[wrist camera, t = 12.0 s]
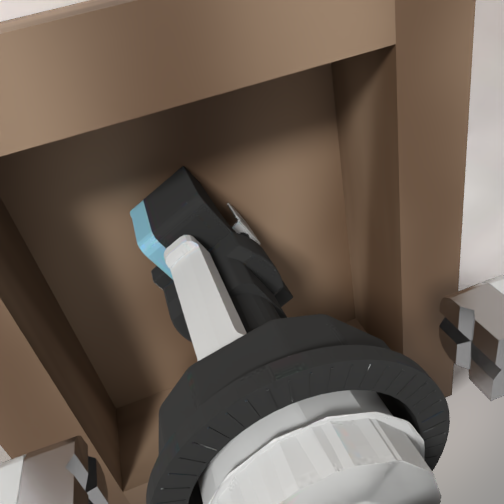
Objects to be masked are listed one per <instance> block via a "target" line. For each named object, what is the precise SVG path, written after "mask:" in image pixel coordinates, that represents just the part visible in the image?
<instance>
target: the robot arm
mask: <svg viewBox="0 0 504 504" xmlns="http://www.w3.org/2000/svg"><path fill="white" fill-rule="evenodd" d="M440 312H441V313H442V314H443V315H444V316H445V317H444V319H443V321H442V322H441V324H440V325H439V338H440V341H441V344H442V347H443V349H444V350H445V352H446V354H447V355H448V357H449V358H450V359H451V360H452V361H453V362H454V363H455V364H456V365H458V366H461V367H464V368H467V369H469V379H470V380H471V381H472V382H473V383H474V384H475V385H476V386H477V387H478V388H479V389H480V390H481V391H482V392H483V393H484V394H485V395H486V396H487V398H488V399H490V401H492V400H494V399H497V398H499V397H502V396H504V275H500V276H498V277H495V278H492V279H490V280H487V281H485V282H482V283H479V284H476V285H474V286H471V287H469V288H466V289H464V290H461V291H458V292H456V293H453V294H451V295H448V296H446V297H443V298H442V300H441V302H440ZM0 504H109V501H108V489H107V484H106V479H105V475H104V473H103V470H102V468H101V465H100V464H99V462H98V460H97V459H96V458H93V457H90V456H88V445H87V443H86V442H85V441H84V439H83V438H82V436H75V437H72V438H69V439H66V440H63V441H61V442H58V443H55V444H52V445H49V446H46V447H43V448H41V449H38V450H35V451H32V452H29V453H27V454H25V455H22V456H19V457H16V458H13V459H10V460H8V461H5V462H2V463H0Z"/></svg>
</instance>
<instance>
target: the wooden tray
mask: <svg viewBox="0 0 504 504" xmlns="http://www.w3.org/2000/svg"><path fill="white" fill-rule="evenodd" d="M475 1H476V0H90V1H86V2H81V3H77V4H73V5H69V6H65V7H61V8H57V9H53V10H48V11H44V12H40V13H36V14H32V15H28V16H24V17H20V18H15V19H11V20H7V21H3V22H0V445H1V446H2V447H3V449H4V450H5V451H6V452H7V454H8V455H9V456H10V457H11V459H13V458H16V457H19V456H22V455H25V454H27V453H29V452H32V451H35V450H38V449H41V448H43V447H46V446H49V445H52V444H55V443H58V442H61V441H63V440H66V439H69V438H72V437H75V436H82V438H83V439H84V441H85V442H86V443H87V445H88V456H90V457H93V458H96V459H97V460H98V462H99V464H100V465H101V468H102V470H103V473H104V475H105V479H106V484H107V489H108V501H109V504H146V492H147V485H148V481H149V478H150V474H151V471H152V469H153V467H154V464H155V462H156V460H157V458H158V456H159V409H160V407H161V405H162V403H163V402H164V400H165V399H166V398H167V396H168V395H169V393H170V392H171V391H172V389H173V388H174V387H175V385H176V384H177V382H178V381H179V380H180V378H181V377H182V376H183V374H184V373H185V371H186V370H187V369H188V368H189V367H190V366H191V365H193V364H194V363H196V362H198V360H197V356H196V353H195V350H194V346H193V343H192V342H190V341H188V340H187V339H186V338H184V337H183V336H182V335H181V334H180V333H179V332H178V331H177V330H176V328H175V327H174V325H173V323H172V321H171V318H170V315H169V311H168V307H167V303H166V299H165V295H164V291H163V290H162V289H161V288H160V287H158V286H157V285H156V284H155V283H154V282H153V278H152V274H151V270H152V269H154V268H155V267H156V266H157V265H156V264H154V263H153V262H152V261H151V260H150V259H149V258H148V257H147V256H146V255H145V254H144V253H143V252H142V251H141V249H140V248H139V246H138V244H137V240H136V235H135V230H134V226H133V221H132V218H131V216H130V211H131V210H132V209H133V208H134V207H135V206H137V205H138V204H139V203H140V202H141V201H142V200H143V199H145V198H146V197H147V196H148V195H149V194H150V193H152V192H153V191H154V190H155V189H156V188H157V187H159V186H160V185H161V184H162V183H163V182H165V181H166V180H167V179H168V178H169V177H170V176H172V175H173V174H174V173H175V172H176V171H177V170H179V169H180V168H181V167H182V166H185V167H186V168H187V169H188V170H189V171H190V172H191V174H192V175H193V176H194V177H195V178H196V179H197V180H198V181H199V183H200V184H201V185H202V186H203V188H204V189H205V191H206V192H207V194H208V195H209V197H210V198H211V200H212V201H213V203H214V204H215V206H216V207H217V209H218V210H219V212H220V213H221V215H222V216H223V218H224V219H225V220H226V221H227V223H228V224H229V225H230V226H233V225H234V224H235V223H236V222H237V219H236V218H235V216H234V215H233V213H232V212H231V210H230V209H229V207H228V205H227V203H230V204H231V205H232V206H233V208H234V209H235V210H236V211H237V212H238V213H239V214H240V216H241V217H242V218H243V219H244V220H245V221H246V223H247V224H248V225H249V227H250V228H251V230H252V231H253V233H254V234H255V236H256V237H257V239H258V240H259V242H260V246H261V247H262V248H263V249H264V251H265V252H266V254H267V255H268V257H269V258H270V260H271V261H272V263H273V264H274V265H275V267H276V268H277V270H278V272H279V274H280V276H281V278H282V280H283V282H284V283H285V285H286V286H287V288H288V289H289V291H290V292H291V294H292V295H293V298H292V299H291V300H290V301H288V302H287V303H286V304H285V305H283V306H282V307H281V308H282V309H283V311H284V313H285V314H286V316H287V317H297V316H306V315H315V314H325V315H329V316H331V317H333V318H335V319H337V320H340V321H342V322H344V323H346V324H348V325H350V326H353V327H355V328H357V329H359V330H361V331H364V332H366V333H368V334H370V335H372V336H375V337H377V338H379V339H381V340H383V341H384V342H385V343H386V345H387V346H388V347H389V348H390V349H391V350H393V351H396V352H399V353H401V354H403V355H405V356H407V357H409V358H410V359H412V360H413V361H415V362H416V363H417V364H419V365H420V366H421V367H422V368H423V369H424V370H425V372H426V373H427V374H428V375H429V376H430V377H431V378H432V380H433V381H434V382H435V383H436V384H437V385H438V387H439V388H440V390H441V391H442V393H443V394H444V397H448V396H450V395H452V382H453V366H454V362H453V361H452V360H451V359H450V358H449V357H448V355H447V354H446V352H445V350H444V349H443V347H442V344H441V341H440V338H439V325H440V324H441V322H442V321H443V319H444V317H445V316H444V315H443V314H442V313H441V312H440V302H441V300H442V298H443V297H446V296H448V295H451V294H453V293H456V292H458V283H459V266H460V250H461V233H462V216H463V200H464V183H465V167H466V150H467V134H468V117H469V100H470V84H471V67H472V51H473V34H474V17H475Z"/></svg>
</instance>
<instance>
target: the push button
mask: <svg viewBox="0 0 504 504" xmlns="http://www.w3.org/2000/svg"><path fill="white" fill-rule="evenodd" d="M227 205H228V207H229V209H230V210H231V212H232V213H233V215H234V216H235V218H236V219H237V222H236V223H235V224H234V225H233V226H230V225H229V224H228V223H227V221H226V220H225V219H224V218H223V216H222V215H221V213H220V212H219V210H218V209H217V207H216V206H215V204H214V203H213V201H212V200H211V198H210V197H209V195H208V194H207V192H206V191H205V189H204V188H203V186H202V185H201V184H200V183H199V181H198V180H197V179H196V178H195V177H194V176H193V175H192V174H191V172H190V171H189V170H188V169H187V168H186V167H185V166H182V167H181V168H180V169H179V170H177V171H176V172H175V173H174V174H173V175H172V176H170V177H169V178H168V179H167V180H166V181H165V182H163V183H162V184H161V185H160V186H159V187H157V188H156V189H155V190H154V191H153V192H152V193H150V194H149V195H148V196H147V197H146V198H145V199H143V200H142V201H141V202H140V203H139V204H138V205H137V206H135V207H134V208H133V209H132V210H131V211H130V216H131V218H132V221H133V226H134V230H135V235H136V240H137V244H138V246H139V248H140V249H141V251H142V252H143V253H144V254H145V255H146V256H147V257H148V258H149V259H150V260H151V261H152V262H153V263H154V264H156V265H157V266H156V267H155V268H154V269H152V270H151V274H152V278H153V282H154V283H155V284H156V285H157V286H158V287H160V288H161V289H162V290H163V291H164V295H165V299H166V303H167V307H168V311H169V315H170V318H171V321H172V323H173V325H174V327H175V328H176V330H177V331H178V332H179V333H180V334H181V335H182V336H183V337H184V338H186V339H187V340H188V341H190V342H192V343H193V346H194V350H195V353H196V356H197V360H198V362H196V363H194V364H193V365H191V366H190V367H189V368H188V369H187V370H186V371H185V373H184V374H183V376H182V377H181V378H180V380H179V381H178V382H177V384H176V385H175V387H174V388H173V389H172V391H171V392H170V393H169V395H168V396H167V398H166V399H165V400H164V402H163V403H162V405H161V407H160V409H159V456H158V458H157V460H156V462H155V464H154V467H153V469H152V471H151V474H150V478H149V481H148V485H147V492H146V504H440V502H441V501H440V499H441V495H440V491H439V488H438V486H437V483H436V480H435V477H434V474H433V472H432V471H433V469H434V468H435V466H436V464H437V463H438V460H439V458H440V456H441V454H442V452H443V449H444V446H445V443H446V441H447V436H448V432H449V422H450V421H449V409H448V405H447V401H446V399H445V397H444V394H443V393H442V391H441V390H440V388H439V387H438V385H437V384H436V383H435V382H434V381H433V380H432V378H431V377H430V376H429V375H428V374H427V373H426V372H425V370H424V369H423V368H422V367H421V366H420V365H419V364H417V363H416V362H415V361H413V360H412V359H410V358H409V357H407V356H405V355H403V354H401V353H399V352H396V351H393V350H391V349H390V348H389V347H388V346H387V345H386V343H385V342H384V341H383V340H381V339H379V338H377V337H375V336H372V335H370V334H368V333H366V332H364V331H361V330H359V329H357V328H355V327H353V326H350V325H348V324H346V323H344V322H342V321H340V320H337V319H335V318H333V317H331V316H329V315H325V314H315V315H306V316H297V317H287V316H286V314H285V313H284V311H283V309H282V308H281V307H282V306H283V305H285V304H286V303H287V302H288V301H290V300H291V299H292V298H293V295H292V294H291V292H290V291H289V289H288V288H287V286H286V285H285V283H284V282H283V280H282V278H281V276H280V274H279V272H278V270H277V268H276V267H275V265H274V264H273V263H272V261H271V260H270V258H269V257H268V255H267V254H266V252H265V251H264V249H263V248H262V247H261V246H260V242H259V240H258V239H257V237H256V236H255V234H254V233H253V231H252V230H251V228H250V227H249V225H248V224H247V223H246V221H245V220H244V219H243V218H242V217H241V216H240V214H239V213H238V212H237V211H236V210H235V209H234V208H233V206H232V205H231V204H230V203H227Z"/></svg>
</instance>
